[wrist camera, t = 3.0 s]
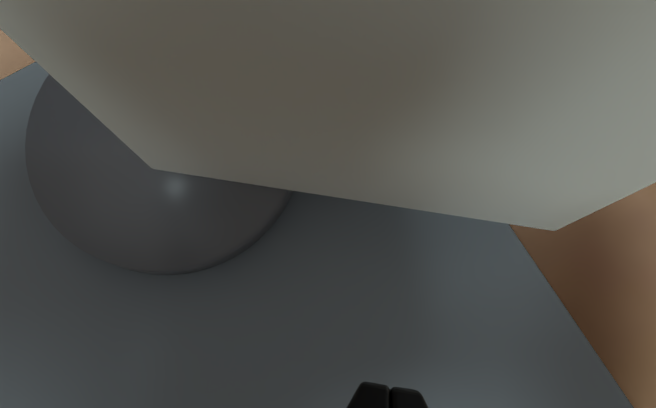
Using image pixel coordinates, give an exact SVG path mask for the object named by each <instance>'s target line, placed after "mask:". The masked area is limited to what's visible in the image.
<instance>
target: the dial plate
mask: <svg viewBox="0 0 656 408" xmlns="http://www.w3.org/2000/svg"><path fill="white" fill-rule="evenodd" d="M48 75H49V73H48V72H47V71H46V70H44V69H43V68H42V67H41V66H40V65H39V64H38V63H37V62H34V63H32V64H31V65H29V66H27V67H25V68H23V69H21V70H19V71H17V72H15V73H13V74H11V75H9V76H8V77H6V78H4V79H2V80H0V408H347V406H348V404H349V402H350V400H351V399H352V397H353V395H354V393H355V392H356V390H357V388H358V386H359V385H360V384H361V383H362V382H372V383H378V384H384V385H387V386H388V387H389V389H391V388H393V387H402V388H408V389H414V390H417V391H419V392H420V393H421V394H422V396H423V398H424V400H425V402H426V404H427V406H428V408H633V406H632V405H631V403H630V402H629V400H628V399H627V397H626V396H625V394H624V393H623V392H622V390H621V389H620V387H619V386H618V384H617V383H616V381H615V380H614V378H613V377H612V375H611V374H610V372H609V371H608V369H607V368H606V367H605V365H604V364H603V362H602V361H601V359H600V358H599V356H598V355H597V353H596V352H595V350H594V349H593V347H592V346H591V345H590V343H589V342H588V340H587V339H586V337H585V336H584V334H583V333H582V331H581V330H580V328H579V327H578V325H577V324H576V322H575V321H574V320H573V318H572V317H571V315H570V314H569V312H568V311H567V309H566V308H565V306H564V305H563V303H562V302H561V300H560V299H559V298H558V296H557V295H556V293H555V292H554V290H553V289H552V287H551V286H550V284H549V283H548V281H547V280H546V278H545V277H544V276H543V274H542V273H541V271H540V270H539V268H538V267H537V265H536V264H535V262H534V261H533V259H532V258H531V256H530V255H529V253H528V252H527V251H526V249H525V248H524V246H523V245H522V243H521V242H520V240H519V239H518V237H517V236H516V234H515V233H514V231H513V230H512V229H511V227H510V226H509V224H506V223H499V222H493V221H486V220H480V219H473V218H467V217H460V216H454V215H447V214H441V213H434V212H428V211H422V210H415V209H409V208H402V207H396V206H389V205H383V204H376V203H370V202H363V201H357V200H350V199H344V198H337V197H331V196H324V195H318V194H311V193H305V192H299V191H293V192H292V194H291V197H290V199H289V201H288V203H287V204H286V206H285V208H284V210H283V211H282V213H281V214H280V216H279V217H278V219H277V220H276V221H275V223H274V224H273V225H272V227H271V228H270V229H269V230H268V231H267V232H266V233H265V234H264V235H263V236H262V237H261V238H260V239H259V240H258V241H256V242H255V243H254V244H253V245H251V246H250V247H249V248H248V249H246V250H245V251H243V252H242V253H240V254H238V255H237V256H235V257H234V258H232V259H230V260H228V261H226V262H223V263H221V264H219V265H217V266H214V267H211V268H208V269H205V270H201V271H198V272H192V273H186V274H180V275H157V274H146V273H142V272H137V271H133V270H129V269H126V268H123V267H120V266H117V265H114V264H111V263H108V262H106V261H103V260H100V259H98V258H95V257H93V256H92V255H90V254H88V253H86V252H84V251H83V250H81V249H79V248H78V247H76V246H75V245H74V244H72V243H71V242H70V241H69V240H67V239H66V238H65V237H64V236H63V235H62V234H61V233H60V232H59V231H58V230H57V229H56V228H55V227H54V226H53V225H52V224H51V222H50V221H49V219H48V218H47V217H46V215H45V214H44V213H43V211H42V209H41V207H40V205H39V203H38V202H37V200H36V198H35V196H34V193H33V190H32V187H31V184H30V181H29V177H28V172H27V167H26V157H25V140H26V129H27V125H28V120H29V116H30V112H31V109H32V106H33V104H34V101H35V98H36V96H37V94H38V92H39V90H40V88H41V86H42V84H43V82H44V80H45V79H46V78H47V76H48Z"/></svg>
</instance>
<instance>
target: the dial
mask: <svg viewBox="0 0 656 408" xmlns="http://www.w3.org/2000/svg"><path fill="white" fill-rule="evenodd" d="M0 29H1V30H2V31H3V32H4V33H5V34H6V35H8V36H9V37H10V38H11V39H12V40H13V41H14V42H15V43H16V44H17V45H18V46H19V47H21V48H22V49H23V50H24V51H25V52H26V53H27V54H28V55H29V56H30V57H31V58H32V59H34V60H35V61H36V62H37V63H38V64H39V65H40V66H41V67H42V68H43V69H44V70H46V71H47V72H48V73H49V75H48V76H47V78H46V79H45V80H44V82H43V84H42V86H41V88H40V90H39V92H38V94H37V96H36V98H35V101H34V104H33V106H32V109H31V112H30V116H29V120H28V125H27V129H26V140H25V157H26V167H27V172H28V177H29V181H30V184H31V187H32V190H33V193H34V196H35V198H36V200H37V202H38V203H39V205H40V207H41V209H42V211H43V213H44V214H45V215H46V217H47V218H48V219H49V221H50V222H51V224H52V225H53V226H54V227H55V228H56V229H57V230H58V231H59V232H60V233H61V234H62V235H63V236H64V237H65V238H66V239H67V240H69V241H70V242H71V243H72V244H74V245H75V246H76V247H78V248H79V249H81V250H83V251H84V252H86V253H88V254H90V255H92V256H93V257H95V258H98V259H100V260H103V261H106V262H108V263H111V264H114V265H117V266H120V267H123V268H126V269H129V270H133V271H137V272H142V273H146V274H157V275H180V274H186V273H192V272H198V271H201V270H205V269H208V268H211V267H214V266H217V265H219V264H221V263H223V262H226V261H228V260H230V259H232V258H234V257H235V256H237V255H238V254H240V253H242V252H243V251H245V250H246V249H248V248H249V247H250V246H251V245H253V244H254V243H255V242H256V241H258V240H259V239H260V238H261V237H262V236H263V235H264V234H265V233H266V232H267V231H268V230H269V229H270V228H271V227H272V225H273V224H274V223H275V221H276V220H277V219H278V217H279V216H280V214H281V213H282V211H283V210H284V208H285V206H286V204H287V203H288V201H289V199H290V197H291V194H292V192H293V191H299V192H305V193H311V194H318V195H324V196H331V197H337V198H344V199H350V200H357V201H363V202H370V203H376V204H383V205H389V206H396V207H402V208H409V209H415V210H422V211H428V212H434V213H441V214H447V215H454V216H460V217H467V218H473V219H480V220H486V221H493V222H499V223H506V224H512V225H519V226H525V227H532V228H538V229H545V230H551V231H556V230H558V229H560V228H562V227H564V226H566V225H568V224H570V223H573V222H575V221H577V220H579V219H581V218H583V217H585V216H587V215H589V214H591V213H593V212H595V211H597V210H599V209H602V208H604V207H606V206H608V205H610V204H612V203H614V202H616V201H618V200H620V199H622V198H624V197H626V196H628V195H631V194H633V193H635V192H637V191H639V190H641V189H643V188H645V187H647V186H649V185H651V184H653V183H655V182H656V0H0Z"/></svg>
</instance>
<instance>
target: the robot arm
mask: <svg viewBox="0 0 656 408" xmlns="http://www.w3.org/2000/svg"><path fill="white" fill-rule="evenodd" d="M347 408H428V406H427V404H426V402H425V400H424V398H423V396H422V394H421V393H420V392H419V391H417V390H414V389H408V388H402V387H393V388H391V389H389V387H388V386H387V385H384V384H378V383H372V382H362V383H361V384H360V385H359V386H358V388H357V390H356V392H355V393H354V395H353V397H352V399H351V400H350V402H349V404H348V406H347Z"/></svg>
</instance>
